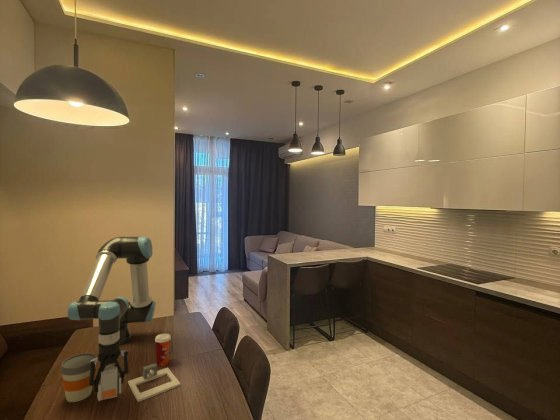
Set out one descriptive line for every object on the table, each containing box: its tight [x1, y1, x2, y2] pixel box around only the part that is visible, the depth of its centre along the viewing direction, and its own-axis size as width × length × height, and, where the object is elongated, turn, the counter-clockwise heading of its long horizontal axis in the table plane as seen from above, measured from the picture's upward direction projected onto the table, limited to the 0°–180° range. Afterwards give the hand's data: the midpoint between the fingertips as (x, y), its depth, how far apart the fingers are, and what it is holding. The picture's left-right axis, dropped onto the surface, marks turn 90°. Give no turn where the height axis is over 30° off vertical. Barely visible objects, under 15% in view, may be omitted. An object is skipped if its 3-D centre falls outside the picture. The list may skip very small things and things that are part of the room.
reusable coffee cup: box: [60, 352, 97, 403], centre depth 126 cm, size 13×13×15 cm
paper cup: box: [154, 333, 172, 367], centre depth 152 cm, size 8×8×14 cm
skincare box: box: [100, 364, 119, 401], centre depth 123 cm, size 6×4×12 cm
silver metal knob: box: [147, 369, 154, 376], centre depth 138 cm, size 5×3×3 cm, turn 40°
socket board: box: [127, 363, 181, 403], centre depth 135 cm, size 16×18×6 cm
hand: (109, 394), depth 123 cm, fingers closed on skincare box, 7 cm apart
